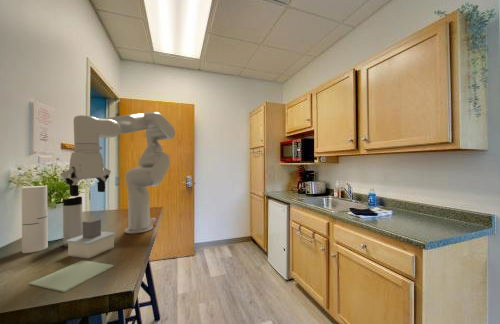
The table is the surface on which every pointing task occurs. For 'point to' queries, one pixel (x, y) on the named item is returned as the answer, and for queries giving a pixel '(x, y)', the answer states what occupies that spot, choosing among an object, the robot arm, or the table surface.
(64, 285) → the mat
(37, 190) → the cylindrical container
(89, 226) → the lid
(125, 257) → the table surface
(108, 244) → the open square tray
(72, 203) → the travel mug
